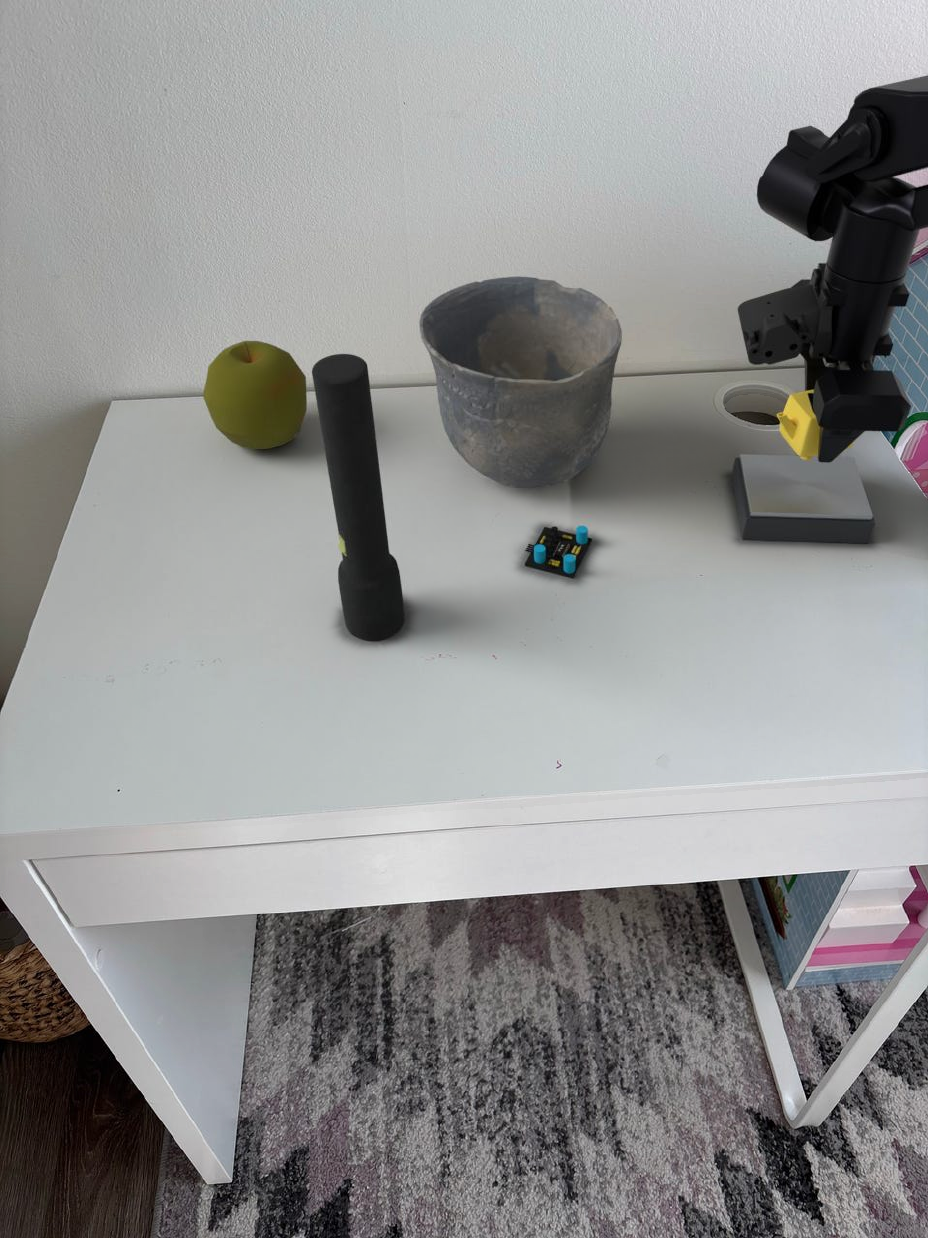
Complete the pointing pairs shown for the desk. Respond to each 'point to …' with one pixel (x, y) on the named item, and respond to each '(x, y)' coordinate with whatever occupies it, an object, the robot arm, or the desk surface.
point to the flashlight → (357, 499)
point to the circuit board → (559, 551)
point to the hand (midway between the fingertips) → (817, 438)
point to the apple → (256, 395)
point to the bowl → (523, 376)
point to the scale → (800, 499)
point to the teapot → (800, 425)
